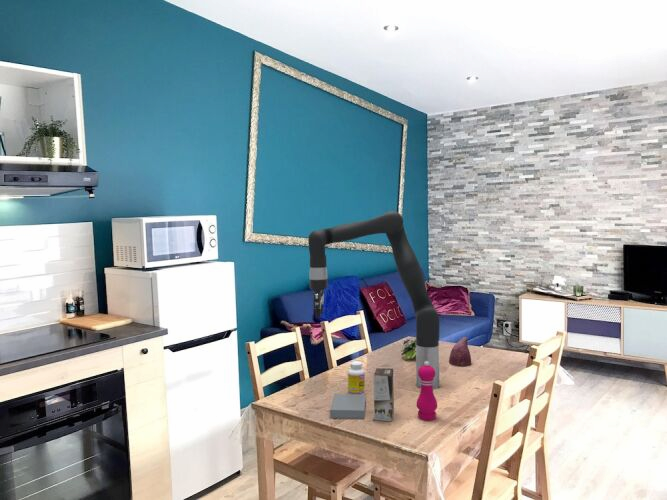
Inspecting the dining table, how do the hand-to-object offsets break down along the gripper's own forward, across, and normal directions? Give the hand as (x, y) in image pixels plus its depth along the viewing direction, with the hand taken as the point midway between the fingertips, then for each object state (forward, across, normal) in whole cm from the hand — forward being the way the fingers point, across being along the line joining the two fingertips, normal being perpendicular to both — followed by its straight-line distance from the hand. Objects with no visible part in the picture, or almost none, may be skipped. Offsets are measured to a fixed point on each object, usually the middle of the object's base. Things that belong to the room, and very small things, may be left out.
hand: (319, 316), depth 214 cm
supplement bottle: (+30, -12, -16) cm, 36 cm away
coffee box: (+30, -33, -27) cm, 52 cm away
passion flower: (+30, +40, -41) cm, 65 cm away
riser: (+29, -28, -14) cm, 43 cm away
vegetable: (+30, +32, -63) cm, 77 cm away
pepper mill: (+30, -33, -42) cm, 61 cm away
